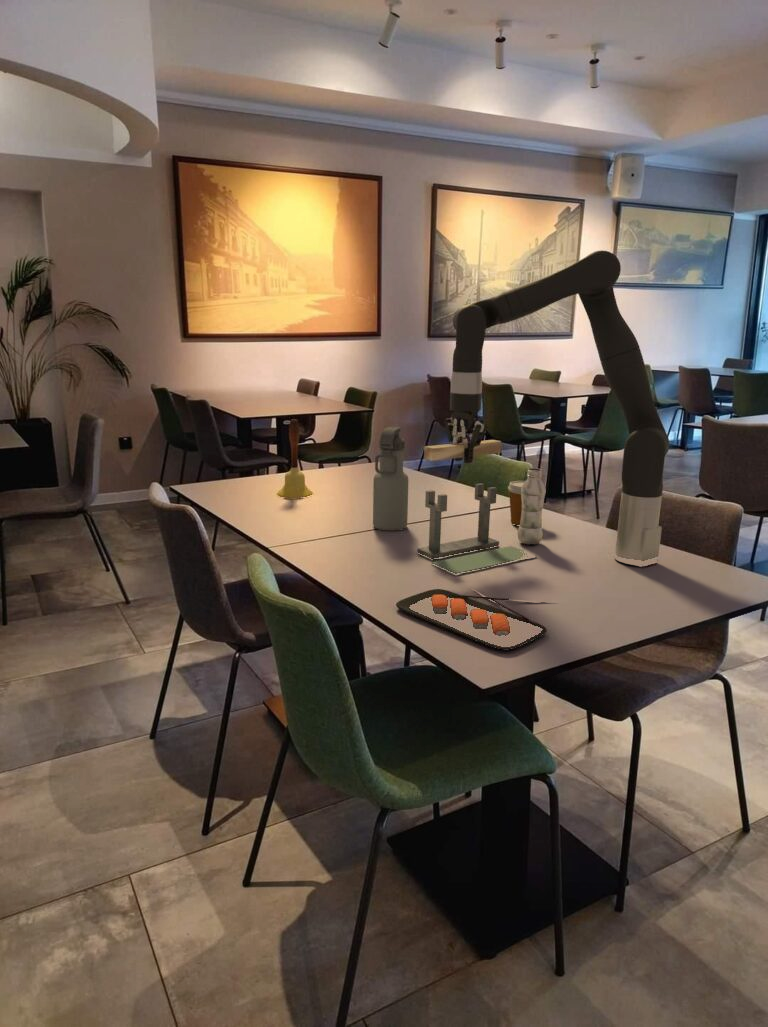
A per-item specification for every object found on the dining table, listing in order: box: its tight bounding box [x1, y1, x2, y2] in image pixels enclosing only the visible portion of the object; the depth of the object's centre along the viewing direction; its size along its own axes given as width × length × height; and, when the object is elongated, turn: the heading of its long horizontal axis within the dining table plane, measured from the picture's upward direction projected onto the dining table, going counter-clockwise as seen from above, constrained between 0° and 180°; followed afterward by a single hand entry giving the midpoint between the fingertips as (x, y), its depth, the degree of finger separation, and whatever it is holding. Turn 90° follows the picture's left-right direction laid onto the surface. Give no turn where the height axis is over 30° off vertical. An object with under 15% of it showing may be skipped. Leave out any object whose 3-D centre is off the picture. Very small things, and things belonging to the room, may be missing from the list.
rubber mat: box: [431, 545, 528, 574], centre depth 176 cm, size 9×26×1 cm, turn 124°
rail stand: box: [416, 482, 500, 559], centre depth 182 cm, size 6×22×16 cm, turn 124°
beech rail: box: [423, 439, 502, 462], centre depth 177 cm, size 3×22×3 cm, turn 124°
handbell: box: [276, 418, 314, 499], centre depth 237 cm, size 12×12×25 cm
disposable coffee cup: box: [507, 480, 526, 525], centre depth 208 cm, size 10×10×12 cm
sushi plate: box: [395, 588, 548, 650], centre depth 145 cm, size 29×30×4 cm
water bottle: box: [372, 426, 409, 531], centre depth 200 cm, size 10×10×28 cm
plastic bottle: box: [517, 467, 547, 545], centre depth 188 cm, size 6×7×20 cm
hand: (463, 461), depth 178 cm, fingers closed on beech rail, 3 cm apart
